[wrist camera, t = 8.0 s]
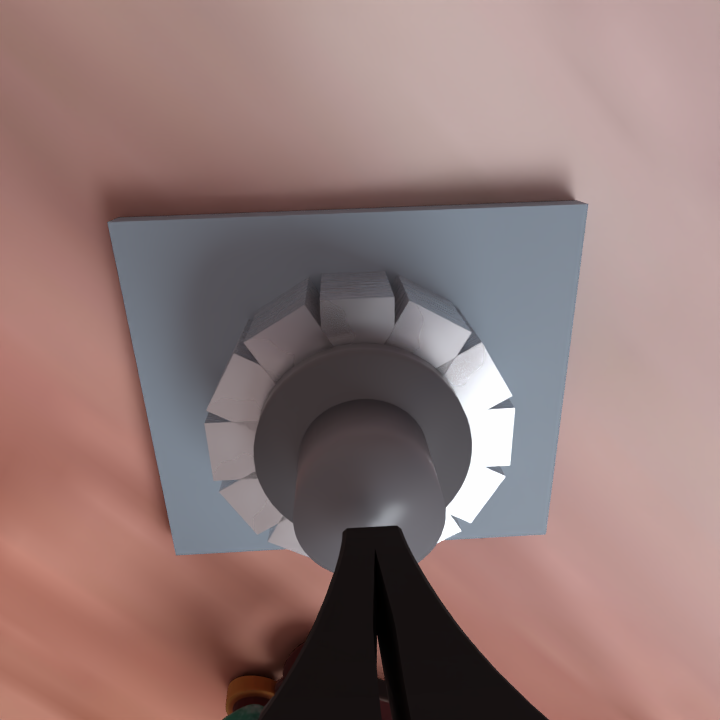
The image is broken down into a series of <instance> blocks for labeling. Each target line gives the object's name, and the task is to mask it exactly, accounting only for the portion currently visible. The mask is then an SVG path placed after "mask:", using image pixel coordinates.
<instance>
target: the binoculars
mask: <svg viewBox="0 0 720 720" xmlns="http://www.w3.org/2000/svg"><path fill="white" fill-rule="evenodd" d="M304 643H305V642H304ZM304 643H303V644H301V645H300V646H298V647H297V648H296V649H295V650H294V651H293V652H292V653H291V655H290V656H289V658H288V659H287V661H286V663H285V665H284V669H283V677H282V678H281V679H279V680H278V681H274V680H272V679H270V678H266V677H261V676H254V675H253V676H242V677H238V678H236V679H234V680H233V681H231V683H230V684H229V686H228V691H227V699H226V712H227V714H228V716H226V717H225V718H224V719H223V720H258V718H259V717H260V716H261V714H262V713H263V711H264V710H265V708H266V707H267V706H268V704H269V703H270V701H271V700H272V698H273V697H274V695H275V694H276V692H277V690H278V689H279V687H280V686H281V684H282V682H283V681H284V679H285V677H286V676H287V674H288V672H289V671H290V669H291V667H292V666H293V664H294V662H295V660H296V658H297V657H298V655H299V653H300V651H301V649H302V647H303V645H304ZM378 688H379V698H380V708H381V717H382V720H392V716H391V710H390V705H389V699H388V693H387V688H386V682H385V681H384V680H381V679H378Z"/></svg>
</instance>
